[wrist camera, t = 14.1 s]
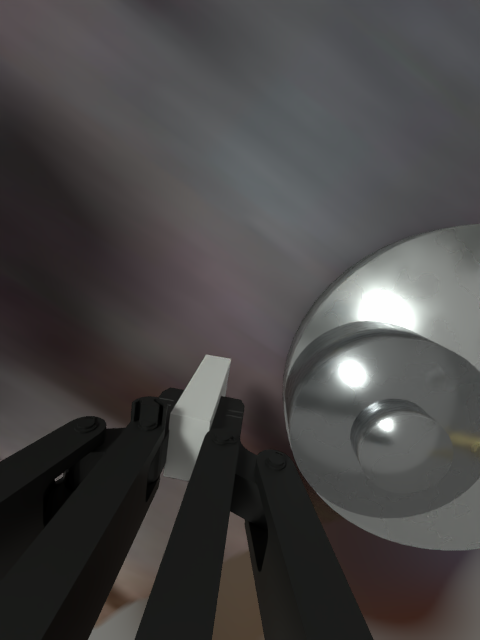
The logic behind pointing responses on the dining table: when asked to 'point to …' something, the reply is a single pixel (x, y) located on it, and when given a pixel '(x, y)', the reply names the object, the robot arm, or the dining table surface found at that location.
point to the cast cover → (384, 420)
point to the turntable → (426, 320)
